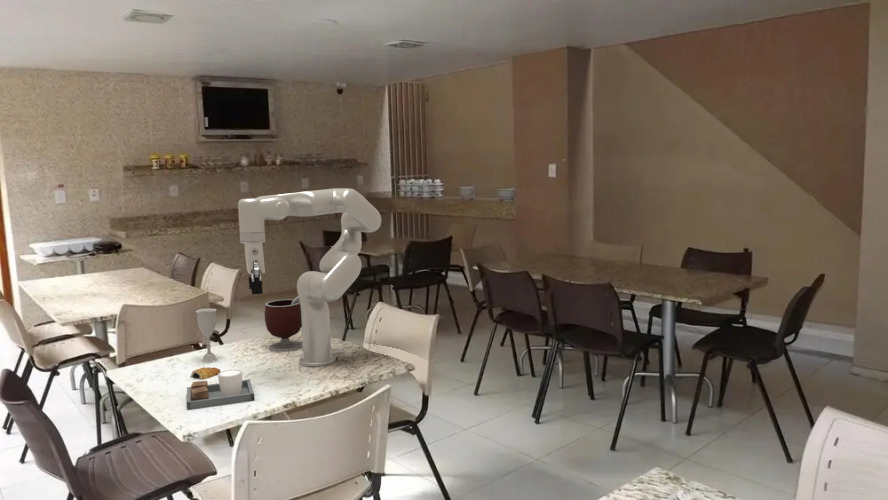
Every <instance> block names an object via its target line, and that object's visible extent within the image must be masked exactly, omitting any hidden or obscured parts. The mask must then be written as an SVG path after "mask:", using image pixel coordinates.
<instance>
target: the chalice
mask: <svg viewBox="0 0 888 500" xmlns="http://www.w3.org/2000/svg"><path fill="white" fill-rule="evenodd" d="M195 313H196V315H197V326H198V328H199V330H200V332H201V333H202V335H203V336H204V337H206V341H205V343H206V349H207V351H206V353H204V355H203V358H202V360H201V361H202V362H201V363H213V362H216V361H218V358H217V357H216V355H215V353H213V352H212V351H211V348H212V346H211V342H212V341H211V339H210V337H212V336H213V334H214V331H215V328H216V324H217V317H216V313H217V308H200V309H197V310H195Z"/></svg>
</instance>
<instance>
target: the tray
mask: <svg viewBox="0 0 888 500" xmlns="http://www.w3.org/2000/svg"><path fill="white" fill-rule="evenodd" d="M208 394H209V399H203V400H196V401H192V400H191V386H189V387H188V386H187V387H186V411H190V410H196V409H203V408H212V407H219V406H226V405H233V404H240V403H247V402H253V401H255V392H254V387H253V385H252V381H251V379H242V394H239V395H232V396H225V397H221V391H220V385H219V382H217V383H211V384H208Z"/></svg>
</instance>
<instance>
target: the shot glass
mask: <svg viewBox="0 0 888 500" xmlns="http://www.w3.org/2000/svg"><path fill="white" fill-rule="evenodd" d="M217 377H218V383H219V385H220V391H221V397H225V396H232V395H239V394H242V380H243V370H240V369H227V370H223V371H220V373H219V374H218V375H217Z"/></svg>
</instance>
